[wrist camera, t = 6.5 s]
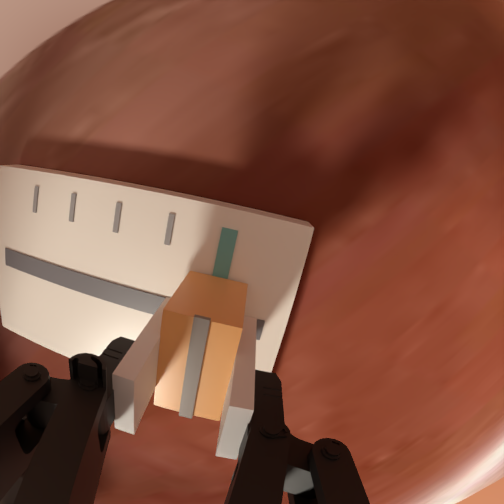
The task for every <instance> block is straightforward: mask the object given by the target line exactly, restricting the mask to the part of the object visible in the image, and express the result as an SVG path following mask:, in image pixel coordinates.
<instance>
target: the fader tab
mask: <svg viewBox="0 0 504 504" xmlns="http://www.w3.org/2000/svg"><path fill="white" fill-rule="evenodd" d="M247 287H248V284H246V283H242V282H237V281H233V280H229V279H224V278H220V277H216V276H212V275H207V274H203V273H199V272H195V271H189V273H188V274H187V276H186V277H185V278H184V280H183V281H182V283H181V284H180V285H179V287H178V288H177V290H176V291H175V293H174V294H173V296H172V297H171V298H170V300H169V301H168V303H167V304H166V306H165V307H164V309H163V314H162V322H161V331H160V344H159V354H158V365H157V376H156V387H155V396H154V405H157V406H160V407H164V408H167V409H171V410H174V411H178V412H179V416H183V417H187V418H191V419H192V416H193V415H194V416H198V417H203V418H207V419H212V420H216V421H219V420H220V416H221V412H222V408H223V404H224V400H225V396H226V392H227V388H228V385H229V381H230V377H231V373H232V369H233V365H234V361H235V357H236V353H237V349H238V345H239V341H240V337H241V333H242V329H243V322H244V313H245V304H246V296H247Z"/></svg>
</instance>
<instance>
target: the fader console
mask: <svg viewBox="0 0 504 504" xmlns="http://www.w3.org/2000/svg"><path fill="white" fill-rule="evenodd" d="M313 231H314V227H313V226H312V225H311V224H310V223H309V222H307V221H303V220H299V219H295V218H291V217H287V216H283V215H278V214H274V213H270V212H266V211H261V210H257V209H253V208H248V207H244V206H240V205H235V204H231V203H226V202H222V201H217V200H213V199H208V198H203V197H199V196H194V195H189V194H184V193H179V192H174V191H170V190H165V189H160V188H154V187H149V186H144V185H139V184H134V183H128V182H123V181H117V180H112V179H106V178H101V177H95V176H89V175H83V174H77V173H71V172H65V171H59V170H52V169H46V168H39V167H33V166H26V165H19V164H18V165H0V311H1V318H2V325H3V327H5V328H7V329H9V330H11V331H13V332H15V333H17V334H19V335H21V336H23V337H25V338H27V339H29V340H31V341H33V342H35V343H37V344H40V345H42V346H44V347H46V348H48V349H50V350H53V351H55V352H57V353H60V354H62V355H64V356H67V357H69V358H71V357H72V356H74V355H76V354H80V353H90V354H94V355H97V356H100V355H101V354H102V352H103V351H104V350H105V349H106V347H107V346H108V345H109V344H110V342H111V341H112V340H114V339H116V338H119V337H125V338H128V339H131V340H134V341H135V340H136V339H137V337H138V336H139V334H140V333H141V332H142V330H143V329H144V327H145V326H146V325H147V323H148V322H149V320H150V319H151V318H152V316H153V315H154V313H155V312H156V311H157V309H158V308H159V307H160V305H161V304H162V302H163V301H164V300H165V298H166V297H168V298H171V297H172V296H173V294H174V293H175V291H176V290H177V288H178V287H179V285H180V284H181V283H182V281H183V280H184V278H185V277H186V276H187V274H188V273H189V271H195V272H199V273H203V274H207V275H212V276H216V277H220V278H224V279H229V280H233V281H237V282H242V283H246V284H248V287H247V296H246V304H245V313H244V316H248V317H253V318H257V327H256V360H255V370H260V371H265V372H272V369H273V366H274V363H275V360H276V357H277V353H278V350H279V347H280V344H281V341H282V338H283V335H284V332H285V328H286V325H287V322H288V319H289V315H290V312H291V309H292V305H293V302H294V299H295V295H296V292H297V289H298V285H299V282H300V278H301V275H302V271H303V268H304V264H305V261H306V257H307V254H308V250H309V246H310V243H311V239H312V235H313Z"/></svg>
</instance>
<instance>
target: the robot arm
mask: <svg viewBox="0 0 504 504" xmlns="http://www.w3.org/2000/svg"><path fill="white" fill-rule="evenodd" d="M169 300H170V298H168V297H166V298H165V300H164V301H163V302H162V304H161V305H160V307H159V308H158V309H157V311H156V312H155V313H154V315H153V316H152V318H151V319H150V320H149V322H148V323H147V325H146V326H145V327H144V329H143V330H142V332H141V333H140V334H139V336H138V337H137V339H136V340H135V341H134V340H131V339H128V338H125V337H119V338H116V339H114V340H112V341H111V342H110V344H109V345H108V346H107V347H106V349H105V350H104V351H103V352H102V354H101V355H100V356H97V355H94V354H90V353H80V354H76V355H74V356H72V357H71V358H70V359H69V368H70V377H71V379H70V380H65V379H58V378H52V377H50V376H49V372H48V370H47V369H46V368H45V367H44V366H42V365H40V364H37V363H27V364H23V365H21V366H19V367H18V368H17V369H15V370H14V371H13V372H12V373H10V374H9V375H8V376H7V377H5V378H4V379H3V380H2V381H0V504H94V500H95V495H96V491H97V486H98V482H99V478H100V474H101V470H102V466H103V462H104V458H105V454H106V451H107V447H108V443H109V440H110V426H111V424H112V423H113V421H114V422H115V428H116V429H119V430H122V431H125V432H128V433H131V434H135V432H136V429H137V427H138V425H139V423H140V420H141V418H142V416H143V414H144V411H145V409H146V407H147V405H148V403H149V400H150V398H151V396H152V394H153V392H154V389H155V387H156V376H157V365H158V354H159V344H160V331H161V322H162V314H163V309H164V307H165V306H166V304H167V303H168V301H169ZM256 327H257V318H253V317H248V316H244V322H243V329H242V333H241V337H240V341H239V345H238V349H237V353H236V357H235V361H234V365H233V369H232V373H231V377H230V381H229V385H228V388H227V392H226V396H225V400H224V404H223V411H222V417H221V423H220V430H219V436H218V443H217V449H216V456H219V457H224V458H230V459H237V457H238V463H237V466H236V468H235V471H234V474H233V476H232V479H231V480H232V481H231V484H230V487H229V491H228V494H227V497H226V500H225V503H224V504H281V503H282V496H283V491H286V492H287V493H288V498H289V504H370V503H369V500H368V497H367V495H366V492H365V490H364V487H363V484H362V482H361V479H360V477H359V474H358V471H357V469H356V466H355V464H354V461H353V458H352V456H351V453H350V451H349V449H348V448H347V446H346V445H344V444H343V443H342V442H340V441H338V440H335V439H330V438H324V439H320V440H318V441H316V442H315V443H314V444H311V443H308V442H305V441H303V440H300V439H298V438H296V437H294V436H293V435H292V434H291V433H290V430H289V429H288V427H287V426H286V425H285V423H284V411H283V399H282V392H281V391H282V387H281V381H280V379H279V378H278V376H277V375H276V373H271V372H265V371H260V370H255V360H256ZM238 454H239V455H238Z"/></svg>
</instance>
